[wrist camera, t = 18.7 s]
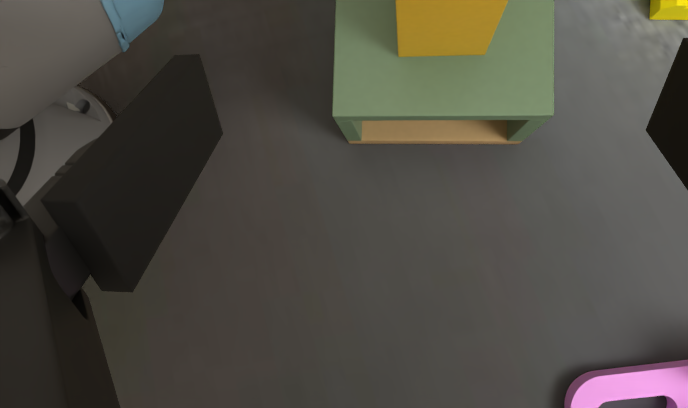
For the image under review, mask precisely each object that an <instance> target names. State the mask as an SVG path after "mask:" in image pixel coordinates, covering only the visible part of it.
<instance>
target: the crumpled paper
mask: <svg viewBox="0 0 688 408" xmlns="http://www.w3.org/2000/svg"><path fill="white" fill-rule="evenodd" d="M649 19H657V20H688V0H650V18H649Z"/></svg>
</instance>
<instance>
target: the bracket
mask: <svg viewBox="0 0 688 408" xmlns="http://www.w3.org/2000/svg"><path fill="white" fill-rule="evenodd" d="M661 395H664V396H665V397H666V399H667V406H666V408H688V360H680V361H671V362H663V363H654V364H646V365H637V366H629V367H620V368H612V369H603V370H595V371H590V372H587V373H584V374H582V375H580V376H579V377H577V378H576V379H575V380H574V381H573V382H572V383H571V385H570V386H569V388H568V390H567V392H566V396H565V402H564V406H565V408H598V407H599V406H600V405H601V404H602V403H604V402H607V401H615V400H624V399H634V398H643V397H652V396H661Z"/></svg>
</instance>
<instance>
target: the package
mask: <svg viewBox="0 0 688 408" xmlns="http://www.w3.org/2000/svg"><path fill="white" fill-rule="evenodd" d="M507 2H508V0H395V3H396V22H397V42H398V57H415V56H458V55H485V53H486V51H487V49H488V46H489V44H490V42H491V39H492V37H493V35H494V32H495V30H496V28H497V25H498V23H499V21H500V18H501V16H502V14H503V11H504V9H505V7H506V4H507Z"/></svg>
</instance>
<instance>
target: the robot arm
mask: <svg viewBox="0 0 688 408" xmlns="http://www.w3.org/2000/svg"><path fill="white" fill-rule="evenodd" d="M163 4H164V0H0V408H120V405H119V402H118V398H117V395H116V391H115V388H114V384H113V381H112V378H111V374H110V371H109V367H108V364H107V360H106V357H105V353H104V350H103V346H102V343H101V339H100V336H99V333H98V329H97V326H96V322H95V319H94V315H93V312H92V308H91V305H90V301H89V298H88V296H87V295H86V293H85V292H84V290H83V289H82V288H81V287H82V286H83V284H84V283H85V281H86V280H87V278H88V277H89V275H90V274H91V276H92V277H93V279H94V280H95V282H96V283H97V285H98V286H99V287H100V289H101V290H102V291H115V292H133V291H134V289H135V287H136V286H137V284H138V282H139V280H140V279H141V277H142V275H143V273H144V271H145V270H146V268H147V266H148V264H149V263H150V261H151V259H152V257H153V256H154V254H155V252H156V250H157V249H158V247H159V245H160V243H161V242H162V240H163V238H164V236H165V235H166V233H167V231H168V229H169V228H170V226H171V224H172V222H173V221H174V219H175V217H176V215H177V214H178V212H179V210H180V208H181V206H182V205H183V203H184V201H185V199H186V198H187V196H188V194H189V192H190V191H191V189H192V187H193V185H194V184H195V182H196V180H197V178H198V177H199V175H200V173H201V171H202V170H203V168H204V166H205V164H206V163H207V161H208V159H209V157H210V156H211V154H212V152H213V150H214V148H215V147H216V145H217V143H218V141H219V140H220V138H221V136H222V134H223V132H222V129H221V125H220V122H219V119H218V115H217V112H216V109H215V105H214V102H213V99H212V95H211V92H210V89H209V85H208V82H207V79H206V75H205V72H204V68H203V65H202V62H201V58H200V55H199V54H194V55H175V56H174V57H173V58H172V59H171V60H170V61H169V62H168V63H167V64H166V65H165V66H164V68H163V69H162V70H161V71H160V72H159V73H158V74H157V75H156V76H155V77H154V78H153V79H152V80H151V81H150V83H149V84H148V85H147V86H146V87H145V88H144V89H143V90H142V91H141V92H140V93H139V94H138V95H137V97H136V98H135V99H134V100H133V101H132V102H131V103H130V104H129V105H128V106H127V107H126V108H125V109H124V111H123V112H122V113H121V114H120V115H119V116H118V117H116V116H115V114H114V113H113V111H112V110H111V109H110V107H109V106H108V105H107V104H106V103H105V102H104V101H103V100H102V99H100V98H99V97H98V96H96V95H95V94H93V93H92V92H90V91H88V90H86V89H84V88H81V87H79V86H77V84H79V83H80V82H81V81H83V80H84V79H85V78H87V77H88V76H89V75H91V74H92V73H93V72H95V71H96V70H97V69H99V68H100V67H101V66H103V65H104V64H105V63H107V62H108V61H109V60H111V59H112V58H113V57H115V56H116V55H117V54H119V53H120V52H121V51H122V52H125V51H127V49H128V48H129V46H130V42H131V41H133V40H134V39H135V38H136V37H137V36H139V35H140V34H141V33H142V32H143V31H144V30H146V29H147V28H148V27H149V26H150V25H151V24H153V23H154V22H155V21H156V20H157V19H158V17H159V16H160V14H161V12H162V10H163ZM646 131H647V133H648V134H649V136H650V137H651V138H652V140H653V141H654V143H655V144H656V146H657V147H658V148H659V150H660V151H661V153H662V154H663V156H664V157H665V158H666V160H667V161H668V163H669V164H670V166H671V167H672V168H673V170H674V171H675V173H676V174H677V176H678V177H679V178H680V180H681V181H682V183H683V184H684V186H685V187H686V188H687V190H688V38H683V40H682V42H681V45H680V47H679V50H678V52H677V55H676V57H675V60H674V62H673V65H672V67H671V69H670V72H669V74H668V77H667V79H666V82H665V84H664V87H663V89H662V91H661V94H660V96H659V99H658V101H657V104H656V106H655V109H654V111H653V113H652V116H651V118H650V121H649V123H648V126H647V128H646Z"/></svg>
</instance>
